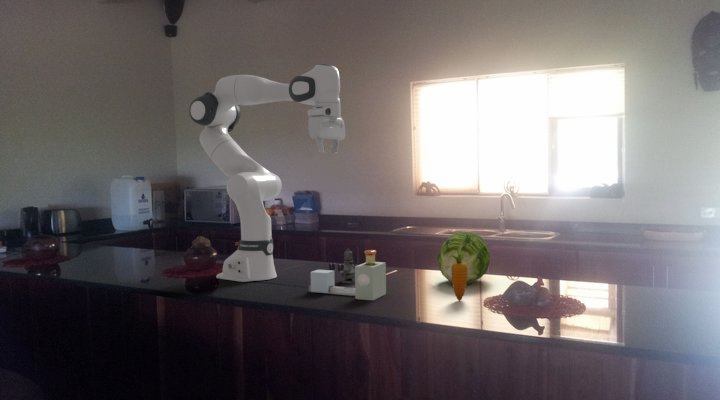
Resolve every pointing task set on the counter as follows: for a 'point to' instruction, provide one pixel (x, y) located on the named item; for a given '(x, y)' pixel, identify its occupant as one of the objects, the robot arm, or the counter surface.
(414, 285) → the counter surface
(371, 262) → the copper knob
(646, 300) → the counter surface
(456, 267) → the carrot
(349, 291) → the rail
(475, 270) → the lettuce
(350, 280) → the stone chess piece
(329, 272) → the block
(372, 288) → the block with square hole
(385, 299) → the counter surface
